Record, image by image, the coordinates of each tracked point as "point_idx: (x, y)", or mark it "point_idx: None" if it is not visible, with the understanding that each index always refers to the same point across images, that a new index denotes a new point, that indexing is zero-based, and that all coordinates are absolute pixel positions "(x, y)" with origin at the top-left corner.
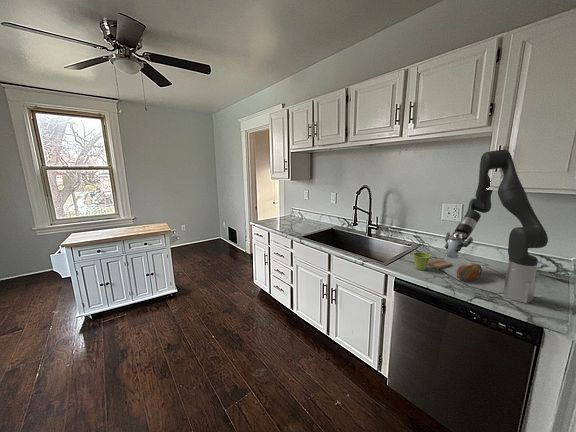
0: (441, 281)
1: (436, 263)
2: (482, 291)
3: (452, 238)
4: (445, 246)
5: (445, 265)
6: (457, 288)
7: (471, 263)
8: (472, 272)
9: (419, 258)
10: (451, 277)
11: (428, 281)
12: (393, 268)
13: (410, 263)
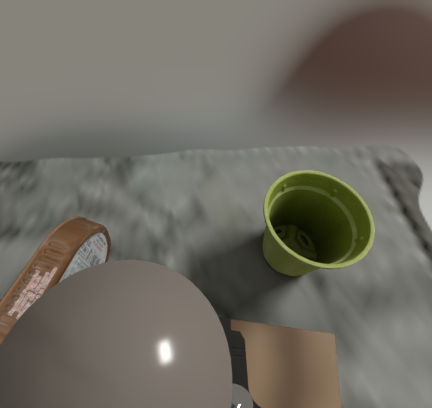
0: (158, 188)
1: (276, 375)
2: (9, 219)
3: (123, 261)
4: (227, 321)
5: None
6: (95, 176)
7: None
8: None
9: (294, 181)
10: (142, 259)
11: (191, 156)
12: (340, 162)
13: (360, 270)
